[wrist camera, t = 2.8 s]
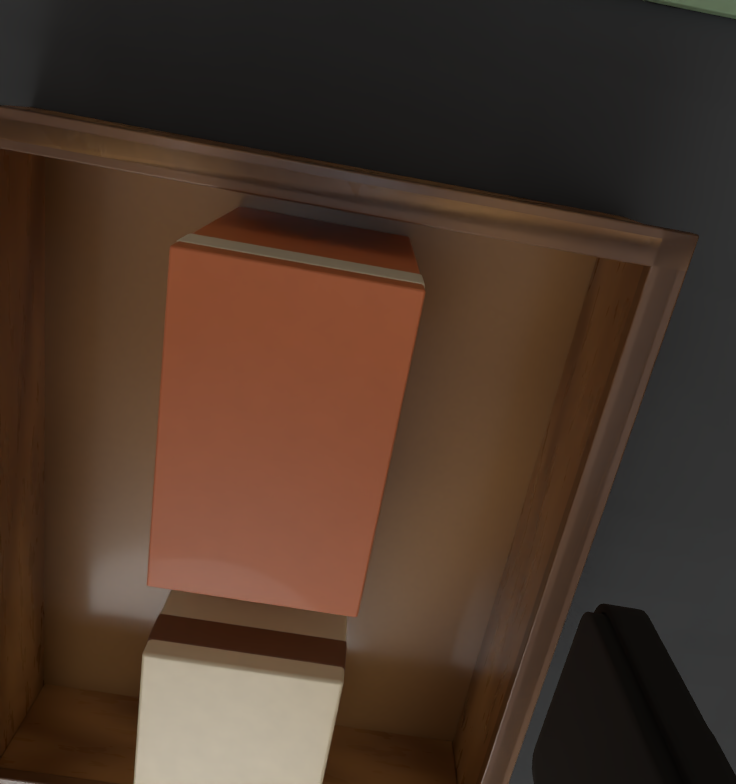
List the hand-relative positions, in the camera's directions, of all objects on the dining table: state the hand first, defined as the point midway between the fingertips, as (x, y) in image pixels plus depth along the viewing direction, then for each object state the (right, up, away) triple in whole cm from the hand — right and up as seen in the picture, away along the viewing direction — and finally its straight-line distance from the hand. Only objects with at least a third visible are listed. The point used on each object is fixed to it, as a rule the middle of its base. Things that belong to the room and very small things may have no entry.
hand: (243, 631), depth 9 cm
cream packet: (-2, -5, +15) cm, 16 cm away
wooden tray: (-1, 0, +14) cm, 14 cm away
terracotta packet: (0, +5, +12) cm, 12 cm away
